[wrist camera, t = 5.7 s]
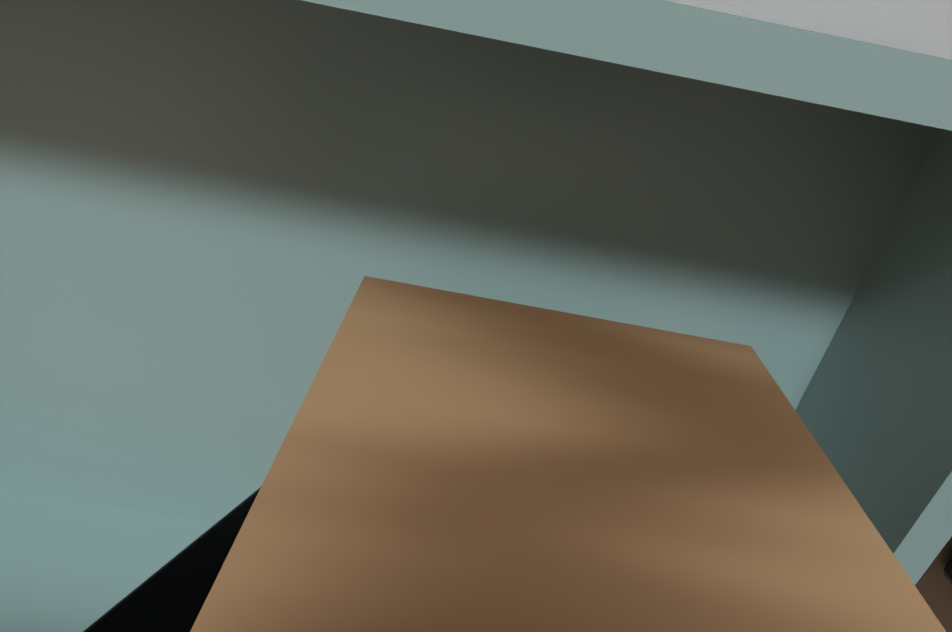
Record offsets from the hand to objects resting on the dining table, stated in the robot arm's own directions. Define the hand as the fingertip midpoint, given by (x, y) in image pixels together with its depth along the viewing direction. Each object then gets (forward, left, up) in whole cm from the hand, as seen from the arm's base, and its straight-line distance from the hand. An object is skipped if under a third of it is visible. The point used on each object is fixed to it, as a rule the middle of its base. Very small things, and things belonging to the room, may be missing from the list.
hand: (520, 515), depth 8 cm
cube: (0, 0, -1) cm, 1 cm away
